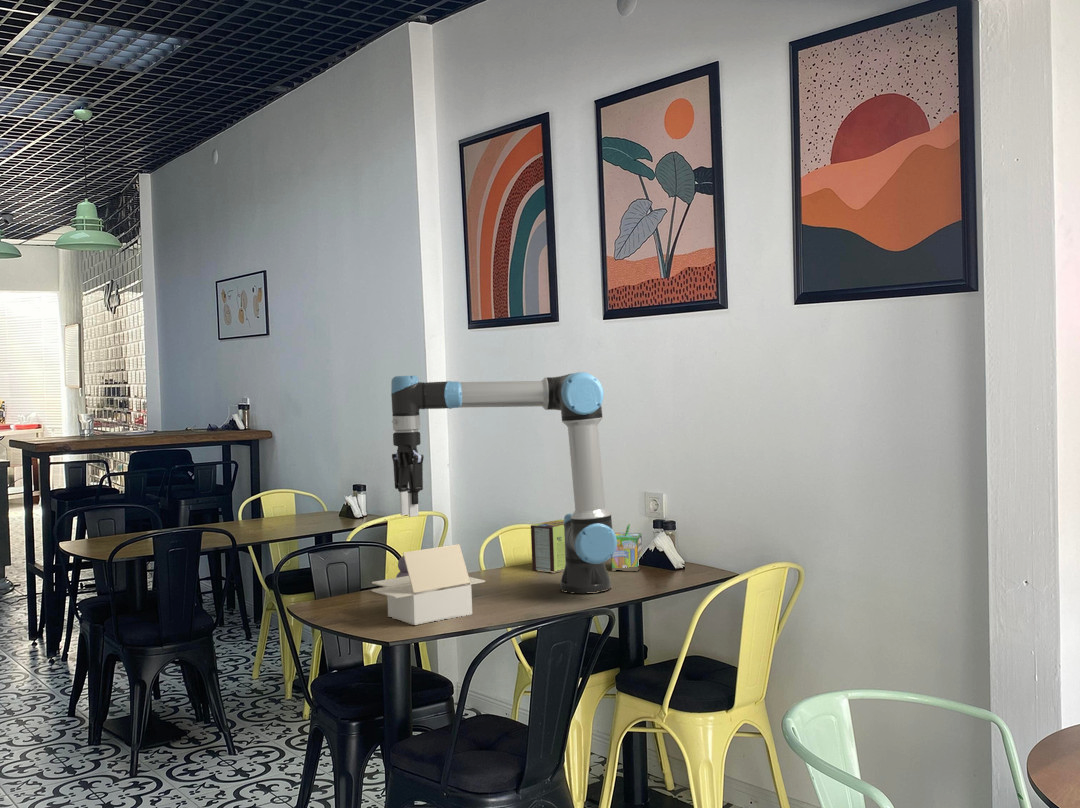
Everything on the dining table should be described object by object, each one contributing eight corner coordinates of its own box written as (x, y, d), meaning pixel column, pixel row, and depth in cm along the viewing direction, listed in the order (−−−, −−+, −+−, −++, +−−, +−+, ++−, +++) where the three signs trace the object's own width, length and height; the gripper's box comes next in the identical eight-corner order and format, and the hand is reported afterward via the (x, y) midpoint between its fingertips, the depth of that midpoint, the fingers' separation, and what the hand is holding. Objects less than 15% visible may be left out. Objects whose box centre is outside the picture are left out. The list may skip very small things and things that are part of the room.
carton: (355, 615, 265) (354, 584, 265) (442, 598, 282) (441, 570, 282) (397, 629, 247) (396, 597, 247) (487, 611, 264) (486, 580, 264)
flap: (402, 552, 254) (403, 552, 254) (458, 544, 265) (459, 544, 265) (413, 593, 251) (413, 592, 250) (469, 583, 261) (470, 582, 261)
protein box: (585, 566, 326) (583, 521, 326) (554, 574, 315) (552, 526, 315) (562, 563, 333) (560, 518, 333) (531, 570, 322) (529, 524, 322)
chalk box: (616, 566, 324) (614, 522, 324) (643, 567, 322) (641, 522, 322) (610, 571, 315) (609, 526, 315) (638, 572, 313) (637, 526, 313)
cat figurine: (420, 596, 287) (419, 556, 286) (394, 597, 287) (392, 557, 287) (424, 590, 295) (423, 551, 295) (398, 591, 295) (397, 552, 295)
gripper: (379, 431, 272) (382, 514, 272) (410, 432, 259) (413, 519, 259) (403, 430, 277) (406, 511, 277) (434, 430, 263) (437, 516, 264)
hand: (409, 515), depth 268 cm, fingers open, 4 cm apart
